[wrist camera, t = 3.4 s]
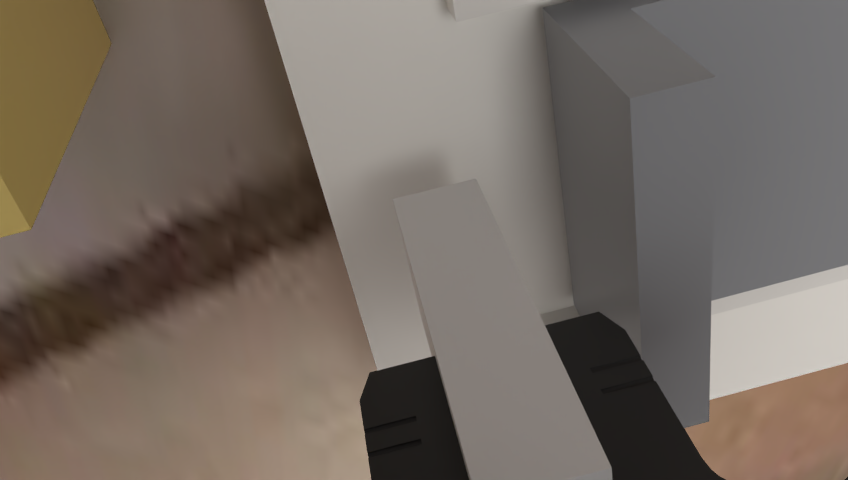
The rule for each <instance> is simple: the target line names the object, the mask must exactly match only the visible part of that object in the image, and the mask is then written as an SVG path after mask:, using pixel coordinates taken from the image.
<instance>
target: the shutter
mask: <svg viewBox="0 0 848 480" xmlns="http://www.w3.org/2000/svg"><path fill="white" fill-rule="evenodd" d="M542 9H543V19H544V28H545V38H546V47H547V56H548V66H549V75H550V84H551V94H552V103H553V113H554V122H555V131H556V141H557V150H558V160H559V169H560V178H561V188H562V197H563V207H564V216H565V225H566V235H567V244H568V253H569V263H570V272H571V282H572V291H573V300H574V305H575V307H576V309H577V311H578V313H579V315H580V316H583V315H587V314H591V313H595V312H600V313H602V314H603V315H605V316H606V317H608V318H609V319H610V320H612V321H613V322H615V323H616V324H618V325H619V326H620V327H622V328H623V329H625V330H626V332H627V334H628V335H629V337H630V339H631V340H632V342H633V344H634V345H635V347H636V349H637V350H638V352H639V354H640V356H641V359H642V360H644V362H645V364H646V365H647V367H648V369H649V370H650V372H651V374H652V375H653V379H654V381H656V382H657V384H658V385H659V387H660V389H661V391H662V392H663V394H664V396H665V397H666V399H667V401H668V402H669V404H670V406H671V407H672V409H673V411H674V412H675V414H676V416H677V417H678V419H679V421H680V422H681V424H682V426H683V427H684V428H686V427H690V426H693V425H697V424H701V423H705V422H708V421H709V398H710V347H711V301H713V300H716V299H720V298H724V297H728V296H731V295H735V294H739V293H743V292H747V291H750V290H754V289H758V288H762V287H765V286H769V285H773V284H777V283H781V282H784V281H788V280H792V279H796V278H800V277H803V276H807V275H811V274H815V273H818V272H822V271H826V270H830V269H834V268H837V267H841V266H845V265H848V0H571V1H567V2H563V3H559V4H555V5H551V6H547V7H543V8H542Z"/></svg>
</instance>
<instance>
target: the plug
mask: <svg viewBox="0 0 848 480" xmlns="http://www.w3.org/2000/svg"><path fill="white" fill-rule="evenodd" d="M110 46H111V42H110V39H109V37H108V35H107V32H106V30H105V28H104V25H103V23H102V21H101V18H100V16H99V14H98V11H97V9H96V7H95V4H94V2H93V0H0V237H4V236H8V235H12V234H16V233H20V232H24V231H28V230H31V229H32V226H33V224H34V222H35V220H36V217H37V215H38V213H39V210H40V208H41V206H42V203H43V201H44V199H45V196H46V194H47V192H48V189H49V187H50V185H51V182H52V180H53V178H54V176H55V173H56V171H57V169H58V166H59V164H60V162H61V159H62V157H63V155H64V152H65V150H66V148H67V145H68V143H69V141H70V139H71V136H72V134H73V132H74V129H75V127H76V125H77V122H78V120H79V118H80V115H81V113H82V111H83V108H84V106H85V104H86V101H87V99H88V97H89V95H90V92H91V90H92V88H93V85H94V83H95V81H96V78H97V76H98V74H99V71H100V69H101V67H102V64H103V62H104V60H105V57H106V55H107V53H108V51H109V48H110Z"/></svg>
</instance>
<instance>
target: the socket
mask: <svg viewBox="0 0 848 480" xmlns="http://www.w3.org/2000/svg"><path fill="white" fill-rule="evenodd" d="M264 1H265V4H266V7H267V11H268V14H269V17H270V20H271V24H272V27H273V30H274V33H275V37H276V40H277V43H278V47H279V50H280V53H281V56H282V60H283V63H284V66H285V69H286V73H287V76H288V79H289V83H290V86H291V89H292V92H293V96H294V99H295V102H296V105H297V109H298V112H299V115H300V119H301V122H302V125H303V128H304V132H305V135H306V138H307V141H308V145H309V148H310V151H311V155H312V158H313V161H314V164H315V168H316V171H317V174H318V177H319V181H320V184H321V187H322V191H323V194H324V197H325V200H326V204H327V207H328V210H329V213H330V217H331V220H332V223H333V226H334V230H335V233H336V236H337V240H338V243H339V246H340V249H341V253H342V256H343V259H344V262H345V266H346V269H347V272H348V276H349V279H350V282H351V285H352V289H353V292H354V295H355V298H356V302H357V305H358V308H359V312H360V315H361V318H362V321H363V325H364V328H365V331H366V334H367V338H368V341H369V344H370V348H371V351H372V354H373V357H374V361H375V364H376V367H377V370H382V369H386V368H389V367H393V366H397V365H401V364H405V363H409V362H413V361H417V360H421V359H424V358H428V357H432V356H431V352H430V348H429V345H428V341H427V337H426V334H425V330H424V326H423V323H422V319H421V315H420V311H419V307H418V302H417V298H416V294H415V290H414V286H413V282H412V277H411V273H410V269H409V265H408V261H407V256H406V252H405V248H404V244H403V240H402V236H401V231H400V227H399V223H398V219H397V215H396V211H395V206H394V202H393V199H395V198H399V197H403V196H407V195H411V194H416V193H420V192H424V191H428V190H432V189H436V188H440V187H444V186H448V185H452V184H456V183H460V182H464V181H468V180H472V179H476V180H477V182H478V184H479V186H480V188H481V191H482V193H483V195H484V197H485V199H486V201H487V203H488V205H489V208H490V210H491V212H492V214H493V216H494V218H495V220H496V222H497V225H498V227H499V229H500V231H501V233H502V235H503V237H504V240H505V242H506V244H507V246H508V248H509V250H510V252H511V254H512V257H513V259H514V261H515V263H516V265H517V267H518V269H519V271H520V274H521V276H522V278H523V280H524V282H525V284H526V286H527V288H528V291H529V293H530V295H531V297H532V299H533V301H534V303H535V306H536V308H537V310H538V312H539V314H540V316H541V318H542V320H543V323H544V325H548V324H552V323H556V322H560V321H564V320H568V319H571V318H575V317H579V316H580V315H579V313H578V311H577V309H576V307H575V305H574V300H573V291H572V282H571V272H570V263H569V253H568V244H567V235H566V225H565V216H564V207H563V197H562V188H561V178H560V169H559V160H558V150H557V141H556V131H555V122H554V113H553V103H552V94H551V84H550V75H549V66H548V56H547V47H546V38H545V28H544V19H543V9H542V8H543V7H547V6H551V5H555V4H559V3H563V2H567V1H571V0H264ZM845 363H848V265H845V266H841V267H837V268H834V269H830V270H826V271H822V272H818V273H815V274H811V275H807V276H803V277H800V278H796V279H792V280H788V281H784V282H781V283H777V284H773V285H769V286H765V287H762V288H758V289H754V290H750V291H747V292H743V293H739V294H735V295H731V296H728V297H724V298H720V299H716V300H713V301H711V347H710V398H709V400H711V399H715V398H718V397H722V396H726V395H729V394H733V393H737V392H741V391H744V390H748V389H752V388H755V387H759V386H763V385H767V384H770V383H774V382H778V381H782V380H785V379H789V378H793V377H796V376H800V375H804V374H808V373H811V372H815V371H819V370H822V369H826V368H830V367H834V366H837V365H841V364H845Z"/></svg>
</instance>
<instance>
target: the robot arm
mask: <svg viewBox="0 0 848 480" xmlns="http://www.w3.org/2000/svg"><path fill="white" fill-rule="evenodd" d="M393 202H394V206H395V211H396V215H397V219H398V223H399V227H400V231H401V236H402V240H403V244H404V248H405V252H406V256H407V261H408V265H409V269H410V273H411V277H412V282H413V286H414V290H415V294H416V298H417V302H418V307H419V311H420V315H421V319H422V323H423V326H424V330H425V334H426V337H427V341H428V345H429V348H430V352H431V356H432V357H428V358H424V359H421V360H417V361H413V362H409V363H405V364H401V365H397V366H393V367H389V368H386V369H382V370H378V371H374V372H370V373H369V376H368V379H367V382H366V385H365V387H364V390H363V393H362V396H361V399H360V406H361V412H362V419H363V426H364V431H365V439H366V446H367V452H368V456H369V458H368V459H369V466H370V473H371V479H372V480H725V479H723V478H722V477H720V476H718V475H717V474H716V473H715V472H713V471H712V470H711V469H710V468H709V466H708V465H707V464H706V463H705V461H704V460H703V459H702V457H701V456H700V454H699V453H698V451H697V449H696V447H695V446H694V444H693V442H692V441H691V439H690V437H689V436H688V434H687V432H686V431H685V429H684V427H683V426H682V424H681V422H680V421H679V419H678V417H677V416H676V414H675V412H674V411H673V409H672V407H671V406H670V404H669V402H668V401H667V399H666V397H665V396H664V394H663V392H662V391H661V389H660V387H659V385H658V384H657V382H656V381H654V379H653V375H652V374H651V372H650V370H649V369H648V367H647V365H646V364H645V362H644V360H642V359H641V356H640V354H639V352H638V350H637V349H636V347H635V345H634V344H633V342H632V340H631V339H630V337H629V335H628V334H627V332H626V330H625V329H623V328H622V327H620V326H619V325H618V324H616V323H615V322H613V321H612V320H610V319H609V318H608V317H606V316H605V315H603V314H602V313H600V312H595V313H591V314H587V315H583V316H579V317H575V318H571V319H568V320H564V321H560V322H556V323H552V324H548V325H544V323H543V320H542V318H541V316H540V314H539V312H538V310H537V308H536V306H535V303H534V301H533V299H532V297H531V295H530V293H529V291H528V288H527V286H526V284H525V282H524V280H523V278H522V276H521V274H520V271H519V269H518V267H517V265H516V263H515V261H514V259H513V257H512V254H511V252H510V250H509V248H508V246H507V244H506V242H505V240H504V237H503V235H502V233H501V231H500V229H499V227H498V225H497V222H496V220H495V218H494V216H493V214H492V212H491V210H490V208H489V205H488V203H487V201H486V199H485V197H484V195H483V193H482V191H481V188H480V186H479V184H478V182H477V180H476V179H472V180H468V181H464V182H460V183H456V184H452V185H448V186H444V187H440V188H436V189H432V190H428V191H424V192H420V193H416V194H411V195H407V196H403V197H399V198H395V199H393ZM845 480H848V477H847V478H846V479H845Z"/></svg>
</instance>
